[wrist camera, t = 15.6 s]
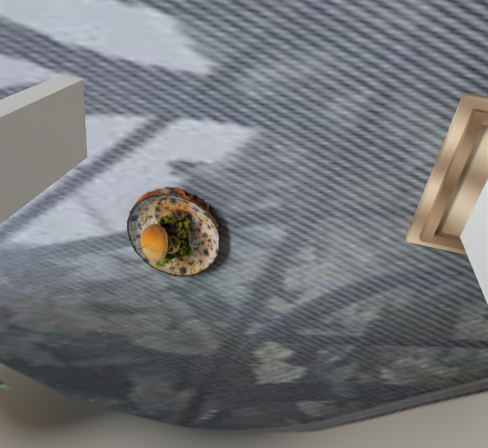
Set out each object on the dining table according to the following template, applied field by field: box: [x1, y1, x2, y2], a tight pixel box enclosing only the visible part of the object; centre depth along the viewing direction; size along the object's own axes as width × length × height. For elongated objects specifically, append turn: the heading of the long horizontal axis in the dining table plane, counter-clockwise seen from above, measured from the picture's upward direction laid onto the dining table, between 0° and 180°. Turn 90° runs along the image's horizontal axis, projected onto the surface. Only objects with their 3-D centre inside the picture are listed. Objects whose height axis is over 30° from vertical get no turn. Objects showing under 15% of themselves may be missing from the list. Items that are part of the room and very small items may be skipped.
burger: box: [127, 187, 220, 277], centre depth 52 cm, size 12×12×8 cm
